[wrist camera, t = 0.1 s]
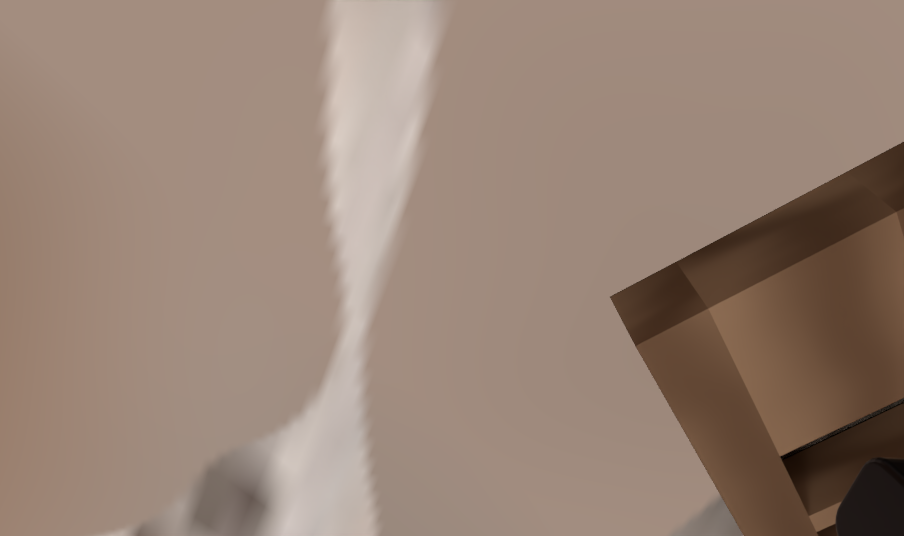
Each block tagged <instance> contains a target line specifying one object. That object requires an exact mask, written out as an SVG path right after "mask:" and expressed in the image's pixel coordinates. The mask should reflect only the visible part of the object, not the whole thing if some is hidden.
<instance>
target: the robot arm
mask: <svg viewBox="0 0 904 536" xmlns="http://www.w3.org/2000/svg"><path fill="white" fill-rule="evenodd" d="M835 524H836V531H837V535H838V536H904V458H888V457H876V458H872V459H870V460H869V461H867V462H866V463H865V464H864V465H863V467H862V468H861V470H860V472H859V473H858V475H857V477H856V478H855V480H854V482H853V483H852V485H851V487H850V489H849V490H848V492H847V494H846V495H845V497H844V499H843V500H842V502H841V504H840V505H839V507H838V510H837V513H836V521H835Z"/></svg>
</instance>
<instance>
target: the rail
mask: <svg viewBox="0 0 904 536" xmlns="http://www.w3.org/2000/svg"><path fill="white" fill-rule="evenodd" d="M610 298H611V300H612V302H613V304H614V306H615V308H616V310H617V312H618V313H619V315H620V317H621V319H622V321H623V323H624V325H625V327H626V329H627V330H628V333H629V334H630V336H631V338H632V340H633V342H634V344H635V346H636V348H637V349H638V351H639V353H640V355H641V356H642V358H643V360H644V362H645V363H646V365H647V367H648V369H649V370H650V372H651V374H652V376H653V377H654V379H655V381H656V382H657V385H658V386H659V388H660V390H661V392H662V393H663V395H664V397H665V398H666V400H667V402H668V403H669V406H670V407H671V409H672V411H673V413H674V414H675V416H676V418H677V420H678V421H679V423H680V425H681V427H682V428H683V430H684V432H685V434H686V435H687V437H688V439H689V441H690V442H691V444H692V446H693V448H694V449H695V451H696V453H697V454H698V456H699V458H700V460H701V462H702V463H703V465H704V467H705V468H706V470H707V472H708V474H709V476H710V477H711V479H712V481H713V483H714V484H715V486H716V488H717V490H718V491H719V493H720V495H721V497H722V498H723V500H724V502H725V504H726V505H727V507H728V509H729V511H730V512H731V514H732V516H733V518H734V519H735V521H736V523H737V525H738V526H739V528H740V530H741V532H742V533H743V535H744V536H838V535H837V531H836V524H835V521H836V513H837V510H838V507H839V505H840V504H841V502H842V500H843V499H844V497H845V495H846V494H847V492H848V490H849V489H850V487H851V485H852V483H853V482H854V480H855V478H856V477H857V475H858V473H859V472H860V470H861V468H862V467H863V465H864V464H865V463H866V462H867V461H869V460H870V459H872V458H876V457H888V458H904V403H903V404H901V405H898V406H896V407H894V408H892V409H890V410H888V411H886V412H884V413H882V414H879V415H877V416H875V417H873V418H871V419H869V420H867V421H865V422H863V423H860V424H858V425H856V426H854V427H852V428H850V429H848V430H846V431H843V432H841V433H839V434H837V435H835V436H833V437H831V438H829V439H827V440H824V441H822V442H820V443H818V444H816V445H814V446H812V447H810V448H808V449H805V450H803V451H801V452H799V453H797V454H795V455H793V456H791V457H789V458H786V459H784V460H781V458H780V456H782V455H784V454H786V453H788V452H790V451H792V450H795V449H797V448H799V447H801V446H803V445H805V444H807V443H809V442H811V441H814V440H816V439H818V438H820V437H822V436H824V435H826V434H828V433H830V432H833V431H835V430H837V429H839V428H841V427H843V426H845V425H847V424H849V423H852V422H854V421H856V420H858V419H860V418H862V417H864V416H866V415H868V414H871V413H873V412H875V411H877V410H879V409H881V408H883V407H885V406H887V405H889V404H892V403H894V402H896V401H898V400H900V399H902V398H904V142H903V143H901V144H899V145H897V146H895V147H893V148H891V149H889V150H888V151H886V152H884V153H882V154H880V155H878V156H876V157H874V158H872V159H870V160H869V161H867V162H865V163H863V164H861V165H859V166H857V167H855V168H853V169H851V170H850V171H848V172H846V173H844V174H842V175H840V176H838V177H836V178H834V179H832V180H831V181H829V182H827V183H825V184H823V185H821V186H819V187H817V188H816V189H814V190H812V191H810V192H808V193H806V194H804V195H802V196H800V197H799V198H797V199H795V200H793V201H791V202H789V203H787V204H785V205H783V206H781V207H779V208H777V209H776V210H774V211H772V212H770V213H768V214H766V215H764V216H762V217H761V218H758V219H757V220H755V221H753V222H751V223H749V224H747V225H745V226H743V227H741V228H740V229H738V230H736V231H734V232H732V233H730V234H728V235H726V236H724V237H723V238H721V239H719V240H717V241H715V242H713V243H711V244H709V245H707V246H705V247H704V248H702V249H700V250H698V251H696V252H694V253H692V254H690V255H688V256H687V257H685V258H683V259H681V260H679V261H677V262H675V263H673V264H671V265H669V266H668V267H666V268H664V269H662V270H660V271H658V272H656V273H654V274H652V275H650V276H649V277H647V278H645V279H643V280H641V281H639V282H637V283H635V284H633V285H632V286H630V287H628V288H626V289H624V290H622V291H620V292H618V293H617V294H614V295H613V296H611V297H610Z"/></svg>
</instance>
